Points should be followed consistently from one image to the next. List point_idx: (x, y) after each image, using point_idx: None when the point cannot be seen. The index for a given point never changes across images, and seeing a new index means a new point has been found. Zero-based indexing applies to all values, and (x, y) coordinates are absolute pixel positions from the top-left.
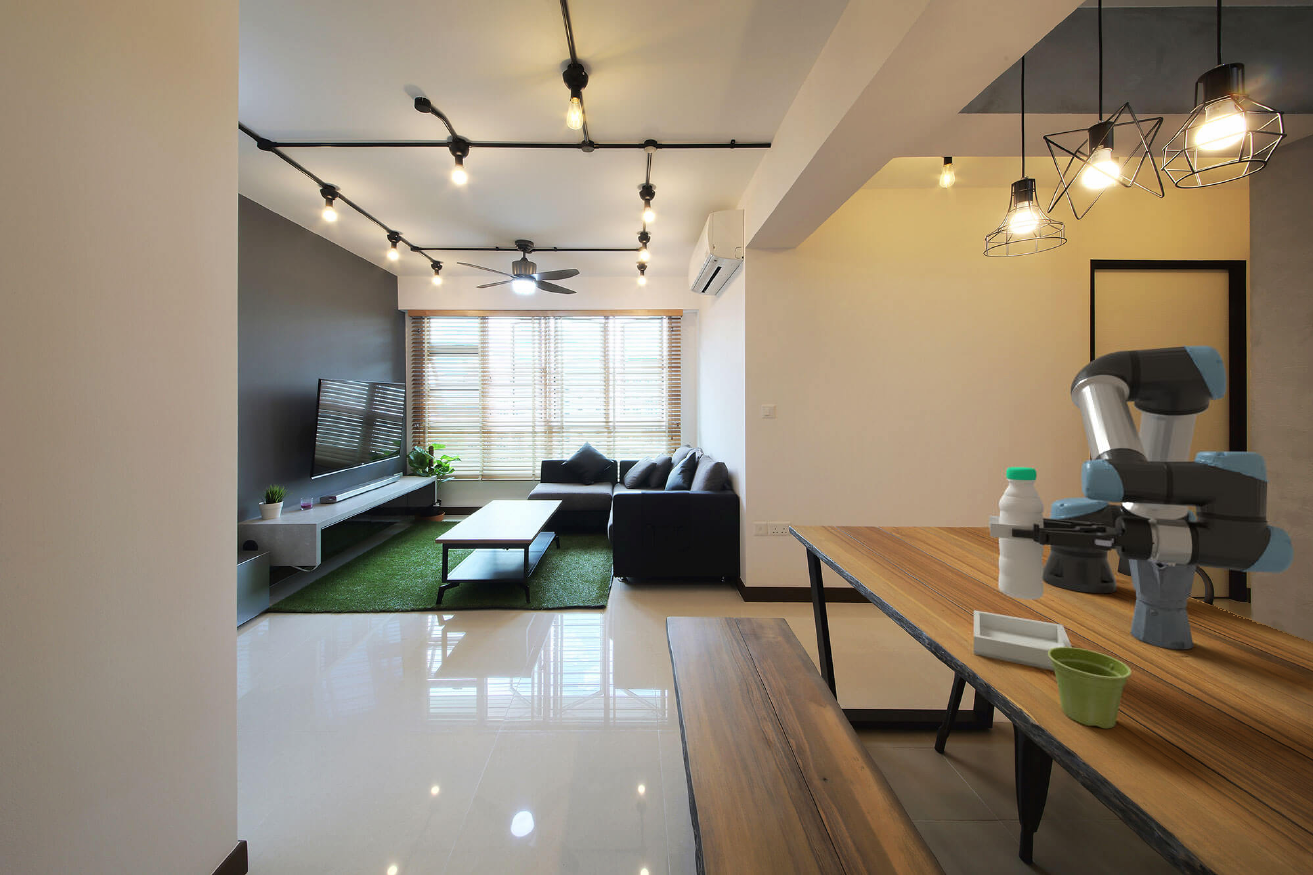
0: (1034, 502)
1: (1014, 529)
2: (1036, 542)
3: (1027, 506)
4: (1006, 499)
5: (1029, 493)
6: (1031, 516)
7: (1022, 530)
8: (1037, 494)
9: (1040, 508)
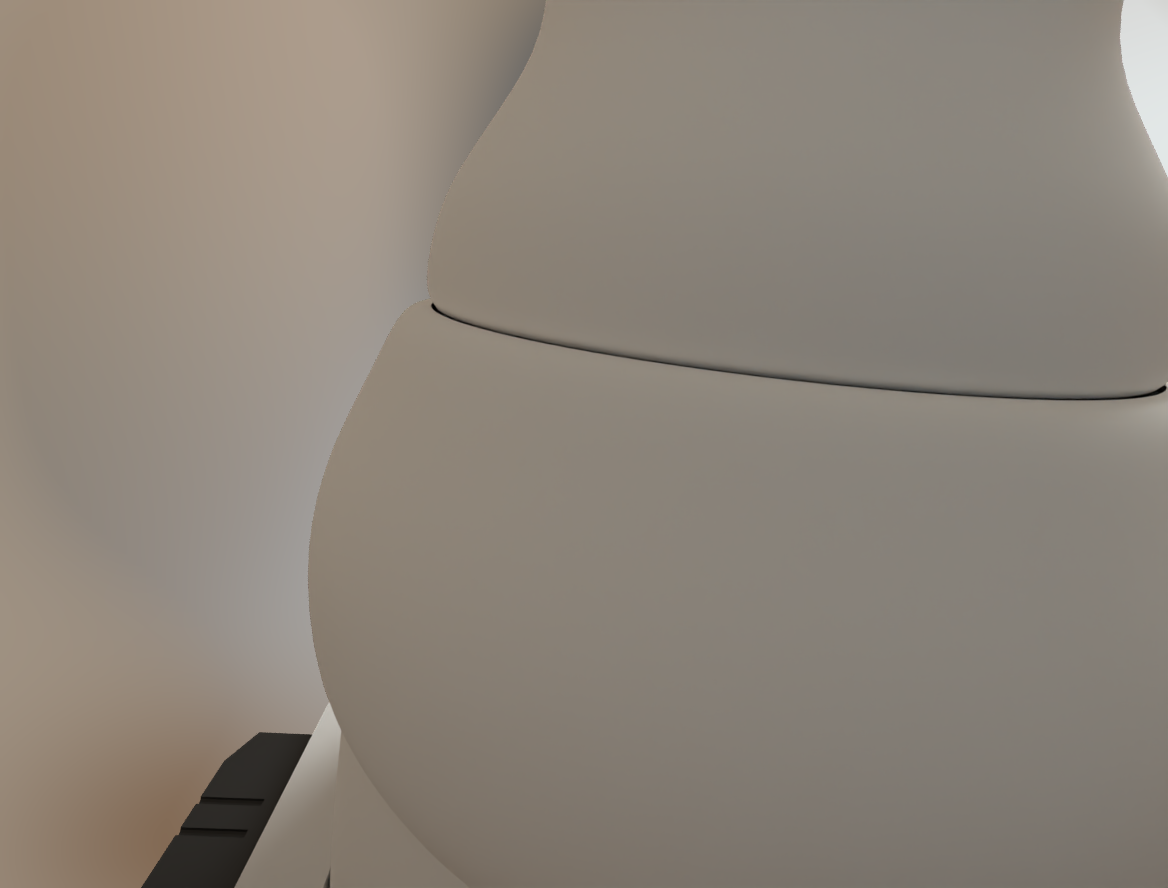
0: (380, 457)
1: (252, 752)
2: None
3: (318, 497)
4: (531, 340)
5: (481, 177)
6: (342, 768)
7: (184, 837)
8: (747, 242)
9: (424, 745)
